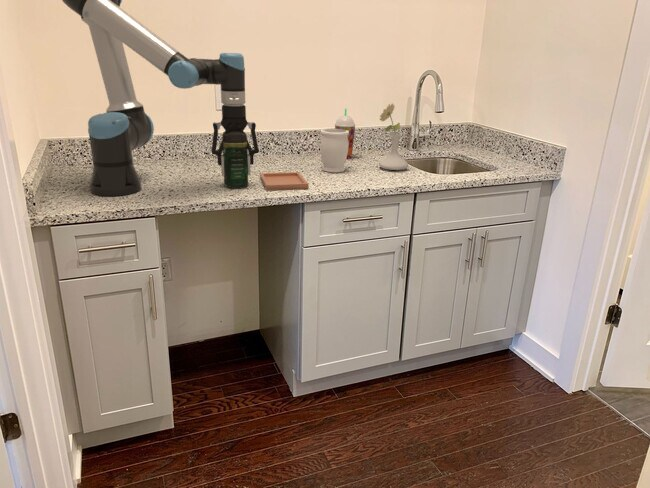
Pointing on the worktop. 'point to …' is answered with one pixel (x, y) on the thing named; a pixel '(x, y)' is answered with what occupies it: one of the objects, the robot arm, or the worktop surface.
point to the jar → (334, 149)
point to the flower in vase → (392, 159)
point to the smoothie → (348, 125)
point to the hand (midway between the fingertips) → (236, 174)
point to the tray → (283, 181)
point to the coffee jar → (235, 159)
